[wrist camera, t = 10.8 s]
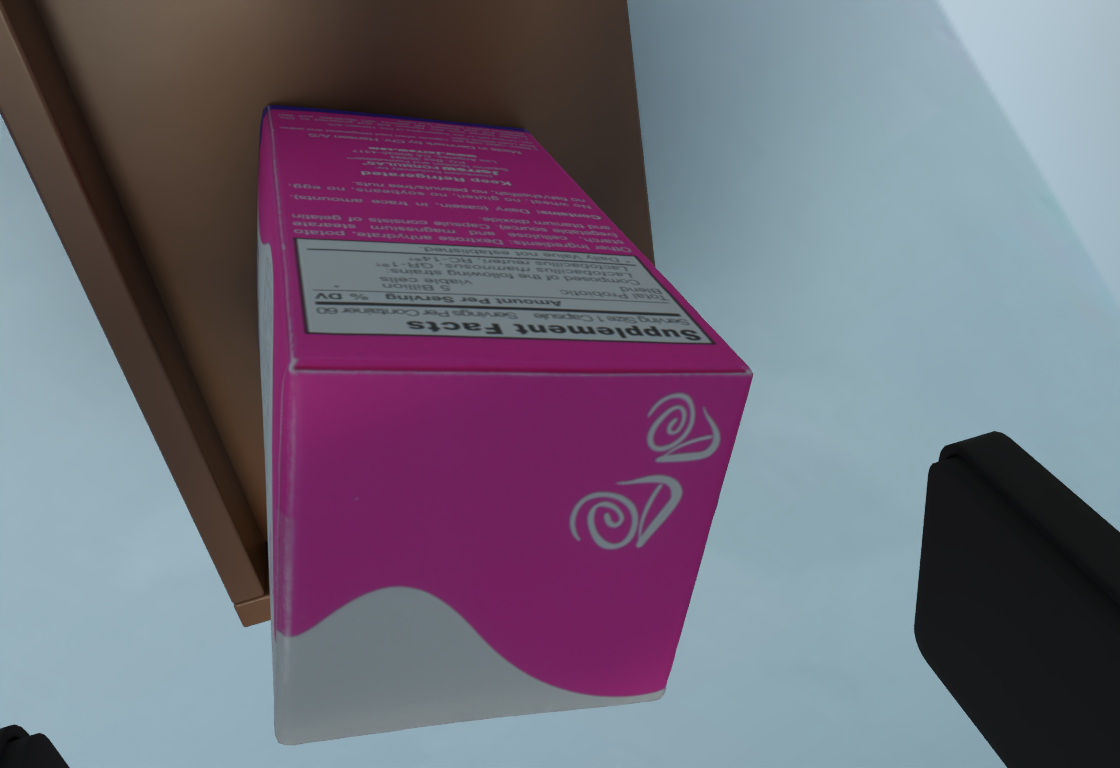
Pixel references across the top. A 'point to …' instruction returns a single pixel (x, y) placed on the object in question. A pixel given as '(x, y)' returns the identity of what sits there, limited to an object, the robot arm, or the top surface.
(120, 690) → the top surface
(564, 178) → the supplement box
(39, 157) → the wooden crate
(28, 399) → the top surface
